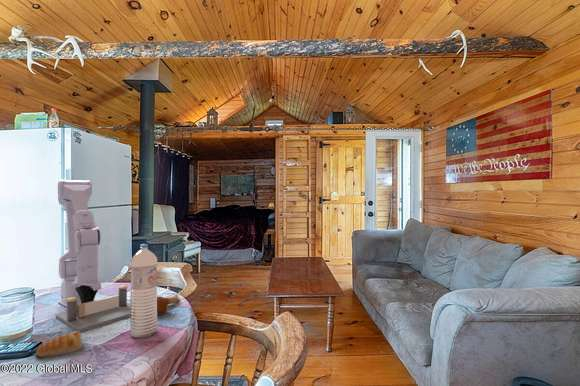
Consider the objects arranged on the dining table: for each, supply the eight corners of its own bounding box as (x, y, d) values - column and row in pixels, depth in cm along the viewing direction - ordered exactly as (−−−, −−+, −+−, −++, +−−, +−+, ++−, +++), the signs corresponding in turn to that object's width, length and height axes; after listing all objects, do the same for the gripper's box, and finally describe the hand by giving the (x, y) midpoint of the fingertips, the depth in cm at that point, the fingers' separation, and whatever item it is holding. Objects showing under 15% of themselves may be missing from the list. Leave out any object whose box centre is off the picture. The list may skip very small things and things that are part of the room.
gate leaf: (116, 305, 108) (116, 294, 108) (119, 306, 107) (119, 295, 107) (76, 316, 98) (76, 304, 98) (79, 317, 97) (79, 305, 97)
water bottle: (139, 341, 85) (140, 247, 85) (125, 335, 89) (125, 245, 88) (162, 331, 91) (162, 243, 91) (147, 326, 94) (147, 241, 94)
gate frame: (55, 317, 100) (55, 294, 100) (117, 301, 116) (117, 280, 116) (79, 332, 90) (79, 306, 90) (144, 312, 105) (144, 289, 105)
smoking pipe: (142, 318, 101) (142, 300, 101) (162, 298, 119) (162, 283, 119) (165, 317, 101) (165, 299, 101) (181, 298, 120) (181, 283, 120)
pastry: (36, 363, 74) (36, 346, 74) (35, 352, 80) (35, 336, 80) (84, 350, 80) (84, 335, 80) (80, 341, 86) (80, 326, 86)
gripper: (64, 265, 103) (64, 307, 103) (83, 271, 94) (83, 317, 94) (88, 261, 109) (88, 301, 109) (108, 267, 100) (108, 310, 100)
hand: (87, 308), depth 102 cm, fingers closed
